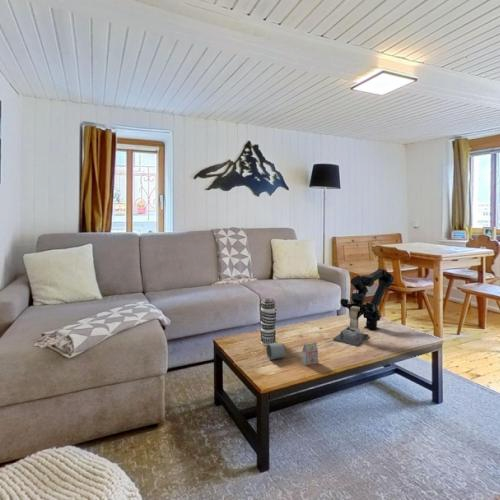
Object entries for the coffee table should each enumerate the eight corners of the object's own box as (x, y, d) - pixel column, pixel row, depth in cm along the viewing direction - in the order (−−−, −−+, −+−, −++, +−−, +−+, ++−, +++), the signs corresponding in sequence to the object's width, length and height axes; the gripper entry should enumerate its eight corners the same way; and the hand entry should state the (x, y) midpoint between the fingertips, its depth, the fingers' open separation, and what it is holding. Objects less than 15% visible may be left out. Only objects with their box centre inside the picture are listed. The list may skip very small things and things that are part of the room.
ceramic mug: (286, 359, 164) (286, 344, 163) (271, 362, 161) (271, 347, 161) (278, 351, 174) (278, 337, 173) (263, 353, 171) (263, 339, 170)
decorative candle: (262, 338, 191) (262, 296, 188) (278, 340, 188) (278, 297, 185) (257, 344, 182) (257, 300, 179) (273, 346, 179) (274, 302, 176)
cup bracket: (345, 330, 202) (345, 322, 201) (368, 336, 193) (369, 327, 192) (333, 340, 188) (333, 331, 187) (357, 346, 179) (358, 336, 178)
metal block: (351, 327, 190) (352, 306, 188) (358, 328, 188) (358, 307, 186) (349, 329, 187) (350, 307, 185) (356, 330, 185) (356, 308, 183)
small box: (301, 362, 161) (302, 343, 160) (313, 360, 164) (313, 340, 162) (305, 365, 158) (306, 346, 156) (317, 363, 160) (318, 343, 159)
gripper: (341, 285, 193) (333, 308, 185) (374, 289, 182) (367, 314, 174) (346, 295, 200) (338, 317, 193) (377, 300, 189) (371, 324, 182)
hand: (353, 318), depth 185 cm, fingers closed on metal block, 4 cm apart
